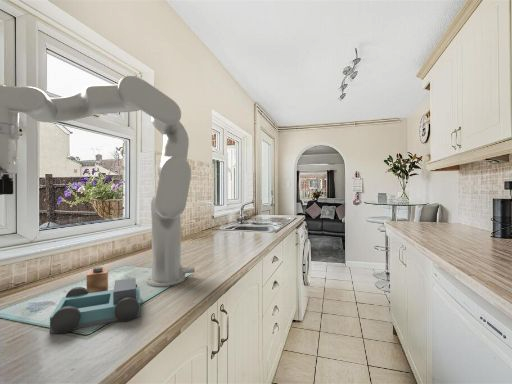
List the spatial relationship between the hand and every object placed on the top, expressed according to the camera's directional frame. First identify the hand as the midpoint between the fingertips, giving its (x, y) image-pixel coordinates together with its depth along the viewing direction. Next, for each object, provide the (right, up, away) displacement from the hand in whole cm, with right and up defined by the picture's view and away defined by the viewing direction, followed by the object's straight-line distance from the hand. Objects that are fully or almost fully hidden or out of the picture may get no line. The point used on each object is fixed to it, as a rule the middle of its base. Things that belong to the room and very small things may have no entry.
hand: (0, 194), depth 72 cm
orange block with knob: (+23, -30, +6) cm, 38 cm away
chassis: (+31, -30, -6) cm, 43 cm away
